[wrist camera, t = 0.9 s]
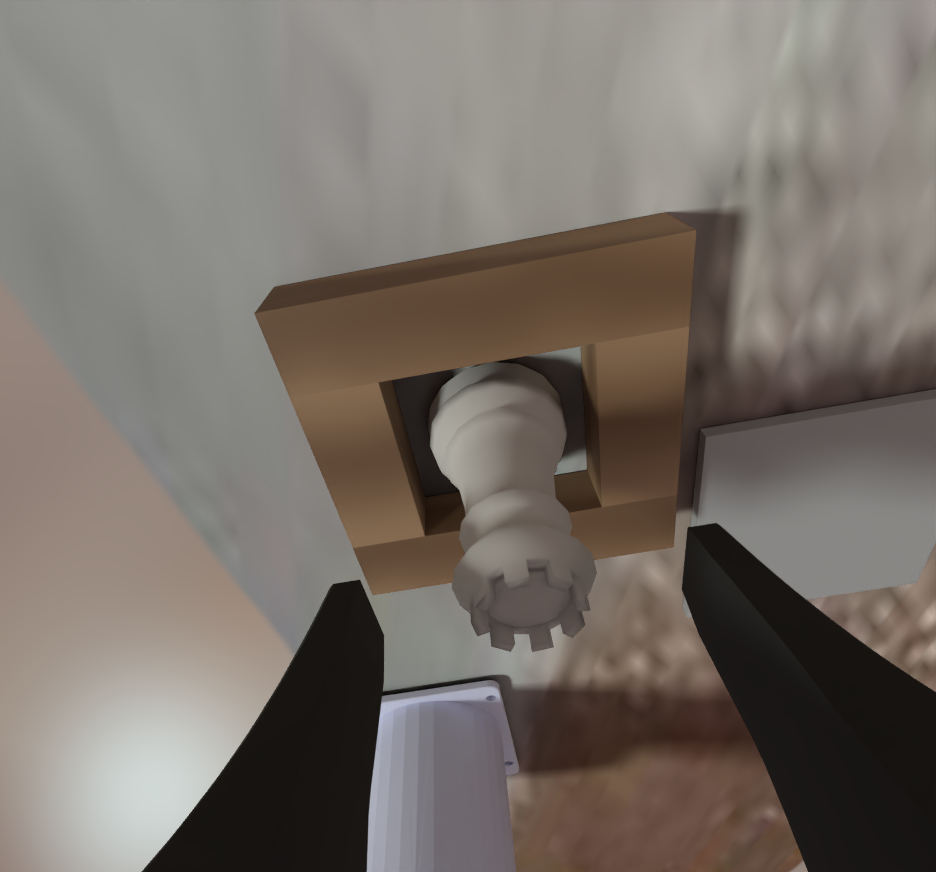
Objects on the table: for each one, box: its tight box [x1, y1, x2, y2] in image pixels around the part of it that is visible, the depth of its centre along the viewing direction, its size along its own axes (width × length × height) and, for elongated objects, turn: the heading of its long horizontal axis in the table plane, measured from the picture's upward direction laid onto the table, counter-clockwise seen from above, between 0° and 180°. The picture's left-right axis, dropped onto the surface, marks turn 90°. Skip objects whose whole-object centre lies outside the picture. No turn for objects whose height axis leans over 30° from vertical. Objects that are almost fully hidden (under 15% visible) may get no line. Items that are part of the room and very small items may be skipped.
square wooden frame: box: [254, 213, 696, 595], centre depth 17 cm, size 11×11×2 cm
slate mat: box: [683, 389, 936, 618], centre depth 21 cm, size 10×10×1 cm
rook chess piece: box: [428, 362, 597, 652], centre depth 14 cm, size 4×4×8 cm
